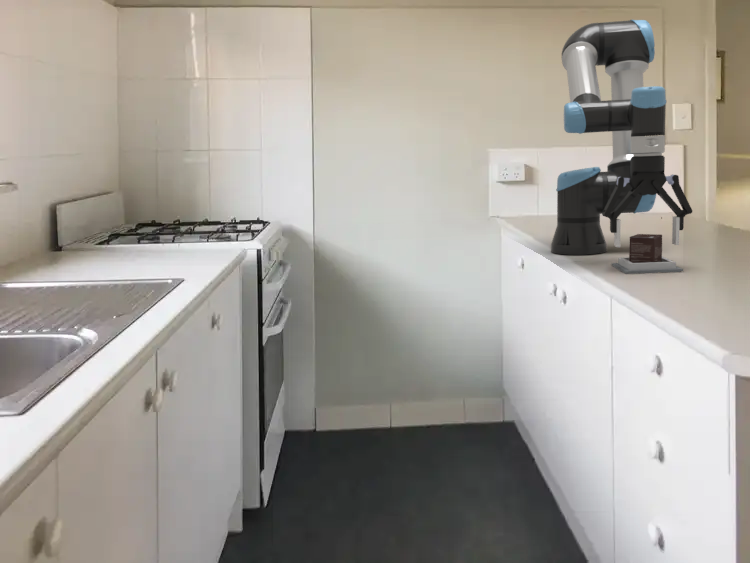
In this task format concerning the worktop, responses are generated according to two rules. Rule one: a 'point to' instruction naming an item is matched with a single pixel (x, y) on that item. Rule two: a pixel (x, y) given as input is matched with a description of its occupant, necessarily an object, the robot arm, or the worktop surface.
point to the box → (645, 248)
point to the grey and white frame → (646, 266)
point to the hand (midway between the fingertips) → (646, 245)
